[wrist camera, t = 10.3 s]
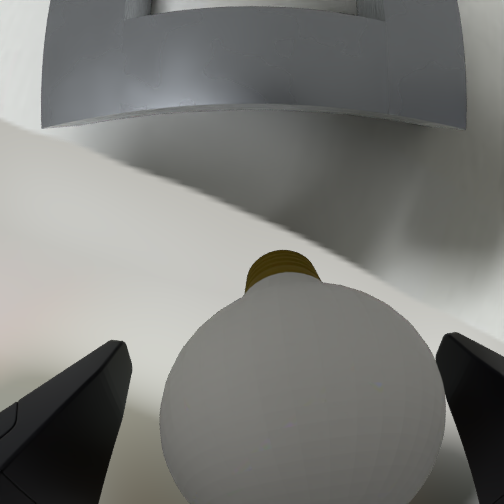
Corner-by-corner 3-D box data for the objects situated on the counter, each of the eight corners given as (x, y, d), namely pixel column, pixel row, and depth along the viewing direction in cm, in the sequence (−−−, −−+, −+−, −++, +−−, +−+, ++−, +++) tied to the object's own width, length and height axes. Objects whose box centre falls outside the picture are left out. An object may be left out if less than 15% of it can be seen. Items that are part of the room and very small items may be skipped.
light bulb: (222, 181, 11) (100, 450, 2) (373, 221, 11) (555, 428, 2) (194, 317, 13) (140, 553, 4) (323, 341, 14) (375, 555, 4)
